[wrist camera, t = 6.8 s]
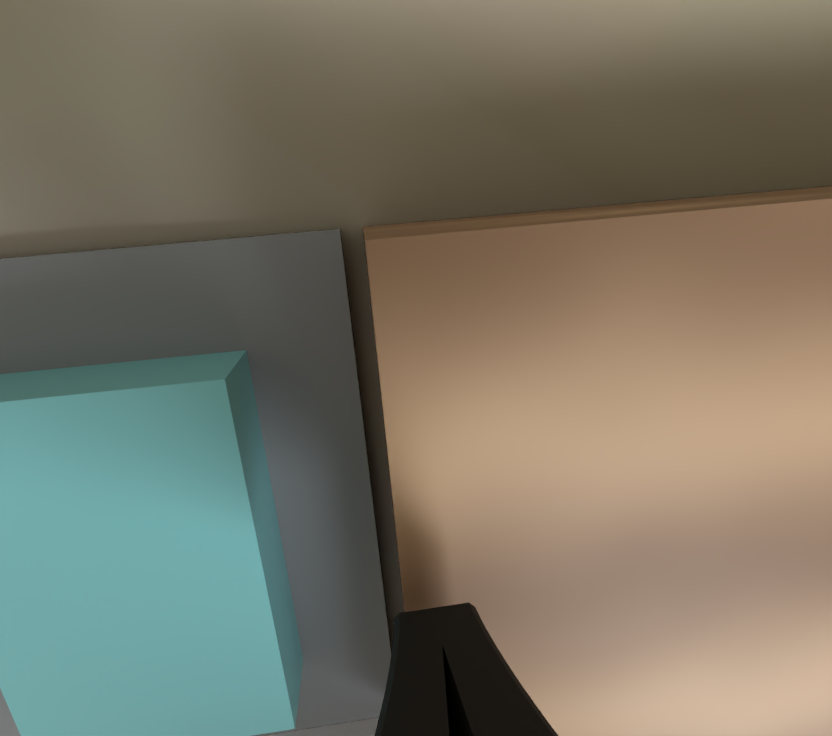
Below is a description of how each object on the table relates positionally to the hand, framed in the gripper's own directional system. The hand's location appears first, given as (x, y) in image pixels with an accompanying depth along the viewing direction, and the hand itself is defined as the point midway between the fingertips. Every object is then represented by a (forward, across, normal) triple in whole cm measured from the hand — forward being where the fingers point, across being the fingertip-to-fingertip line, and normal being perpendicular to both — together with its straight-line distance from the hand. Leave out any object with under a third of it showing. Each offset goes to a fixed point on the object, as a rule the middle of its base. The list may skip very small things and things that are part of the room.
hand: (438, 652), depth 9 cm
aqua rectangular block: (+2, +6, 0) cm, 7 cm away
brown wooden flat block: (+5, -8, 0) cm, 9 cm away
